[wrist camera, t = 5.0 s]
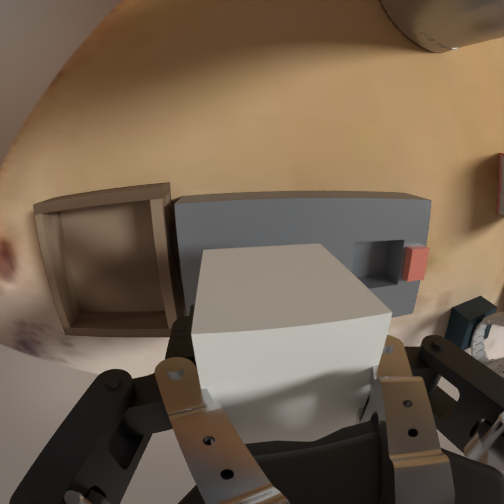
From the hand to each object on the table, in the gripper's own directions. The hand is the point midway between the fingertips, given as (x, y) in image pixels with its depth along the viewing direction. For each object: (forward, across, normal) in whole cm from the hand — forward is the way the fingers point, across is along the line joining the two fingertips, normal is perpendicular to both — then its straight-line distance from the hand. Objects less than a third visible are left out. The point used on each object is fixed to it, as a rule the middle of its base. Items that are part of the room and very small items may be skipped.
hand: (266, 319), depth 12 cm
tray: (+9, +10, 0) cm, 13 cm away
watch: (+9, -25, +10) cm, 29 cm away
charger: (+3, 0, 0) cm, 3 cm away
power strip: (+9, -4, 0) cm, 10 cm away
